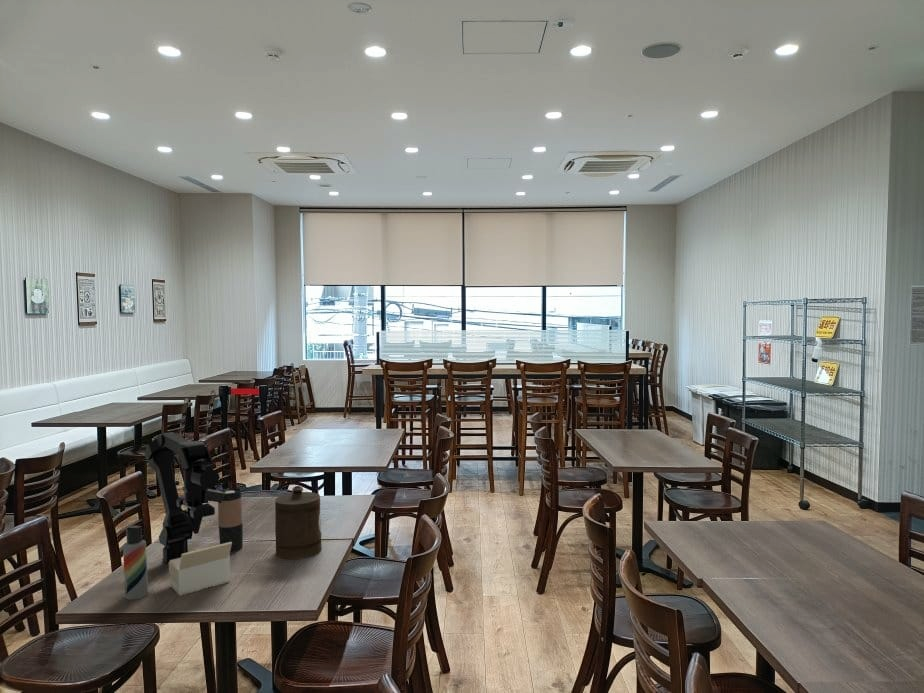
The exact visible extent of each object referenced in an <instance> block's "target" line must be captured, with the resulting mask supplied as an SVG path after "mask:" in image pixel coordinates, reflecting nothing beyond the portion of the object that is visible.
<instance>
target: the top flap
mask: <svg viewBox="0 0 924 693" xmlns="http://www.w3.org/2000/svg"><path fill="white" fill-rule="evenodd" d="M231 545H232V542H228V543H224V544H220V543H219V544H217V545H213V546H212V545H211V546H208V547H205V548H200V549H196V550H193V551H191V550H190V551H188V552H187V553H183V554H182V556H181V561H180V566H179V569H180V570H181V569H185V568H189V567H193V566H197V565H201V564H204V563H208V562H212V561H216V560H220V559H224V558H228V557H229V555H230V554H231V552H230V550H231Z"/></svg>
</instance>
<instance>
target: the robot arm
mask: <svg viewBox="0 0 924 693" xmlns="http://www.w3.org/2000/svg"><path fill="white" fill-rule="evenodd" d="M175 453H176V454H178V455H177V457H178V459H179V461H180V462H181V463H182V464H181V468H182V469H183V486H181V489H182V491H183V494H184V495H182V496H179V493H178V488H177V484H176V480H175V475H174V472H173V467H172V466H173V463H174V462H175ZM144 457H145V460H146V461H147V464H148V467H150V468H151V469H152V470H153V471H154V472H155V473H156V477H157V481H158V487H159V490H160V493H161V494H160V496H161V499H162V503H163V507H164V508H163V509H164V512H165V515H164V518H163V522H162V529H161V532H160V534H159V536H158V541H159V544H160V545H163V546H164V547H163V548H162V555H163V556H162V560H163V562H164V561H165V563H167V564H169V562H170V560H173V559H177V558H181V556H182V554H183V553H187V552H189V549H188V548H189V546H188V545H189V544H188V542H189V541H188V540H192V539H193V538H192V537H193V534H194V535H196V534H199V532H200V528H201V523H202V522H203V521H202V520H203V518H206V517H209V516H214V515H215V514H216V509H215V508H216V507H214V506H213V505H212V504H209V502H215V503H217V504H218V503H222V500H223V497H224V494H225V493H223V492H222V491H220V490H219V489H217V486H216V485H217V484H218V482H219V478H220V477H219V474H218V472H217V471H216V470H215V469H213V468H212V465H213V457H212V455H211V453H210V451H209V449H208V446H207V445H206V443H205V442H203V441H201V440H200V441H199V440H194V441H193V440H188V439H186V438H184V437H181V436H180V435H178V434H177V433H176V432H173V431H172V432H170V431H169V432H165V433H164V432H163V433H160V434H158V435H157V437H156V438H155V439H154V440H152V441H151V442H149V443H148V444H147V446H146V448H145V450H144ZM182 506H184V509H182ZM162 560H161V561H162Z"/></svg>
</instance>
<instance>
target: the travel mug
mask: <svg viewBox="0 0 924 693" xmlns="http://www.w3.org/2000/svg"><path fill="white" fill-rule="evenodd" d="M219 491H222V492H223V493H225V494H224V497H223V500H222V503H218V502H217V512H218V513H217V514H218V518H217V519H218V536H219V545H220V544H224V543H228V542H232V545H231V550H230V553H235V552H234V551H236V552H238V551H237V550H239V551H241V550H242V549H243V548H244V545H243V544H244V543H243V539H244V538H243V532H244V531H243V530H244V528H243V525H244V524H243V523H244V522H243V502H242V500H243V498H242V489H241V488H239V487H231V488H230V489H227V490H225V489H220V490H219ZM241 548H242V549H241ZM240 549H241V550H240Z"/></svg>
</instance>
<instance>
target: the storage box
mask: <svg viewBox="0 0 924 693" xmlns="http://www.w3.org/2000/svg"><path fill="white" fill-rule="evenodd" d="M180 561H181V558H177V559H173V560H170V562H169V563H168V572H169V573H168V575H169V577H170V587H171V586H172V587H171V588H172V589H173V590H174V591H175V593H177V595H178V596H179V597H182V596H185V595H188V593H189V594H192V593H195V592H194V591H196V592H199V591H202V590H201V589H203V590H205V589H204V588H206V589H209V588H208V587H210V588H212V587H211V586H213V587H215V585H217V586H219V585H218V584H220V585H222V584H221V583H224V584H226V583H225V582H227V583H229V582H228V581H230V582H231V577H230V576H231V573H230V572H231V571H230V570H231V556H230V554H229V557H228V558H224V559H220V560H216V561H212V562H208V563H204V564H201V565H197V566H193V567H189V568H185V569H181V570H180V569H179V566H180ZM198 590H199V591H198Z"/></svg>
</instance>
